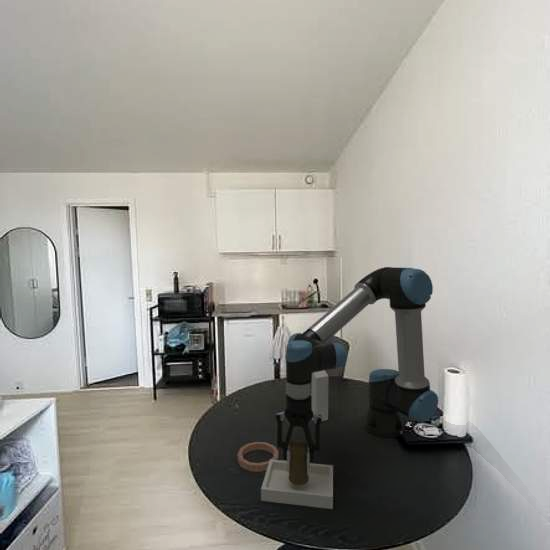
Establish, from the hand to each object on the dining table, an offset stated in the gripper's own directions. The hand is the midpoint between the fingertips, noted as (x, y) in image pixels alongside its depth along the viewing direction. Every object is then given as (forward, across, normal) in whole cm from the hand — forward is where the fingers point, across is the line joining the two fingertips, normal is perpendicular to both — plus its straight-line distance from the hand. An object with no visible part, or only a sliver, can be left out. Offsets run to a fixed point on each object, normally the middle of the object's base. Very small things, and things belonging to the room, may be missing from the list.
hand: (298, 470), depth 102 cm
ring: (+5, +15, -12) cm, 20 cm away
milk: (+5, -4, -44) cm, 45 cm away
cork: (+2, 0, 0) cm, 2 cm away
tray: (+5, 0, 0) cm, 5 cm away
